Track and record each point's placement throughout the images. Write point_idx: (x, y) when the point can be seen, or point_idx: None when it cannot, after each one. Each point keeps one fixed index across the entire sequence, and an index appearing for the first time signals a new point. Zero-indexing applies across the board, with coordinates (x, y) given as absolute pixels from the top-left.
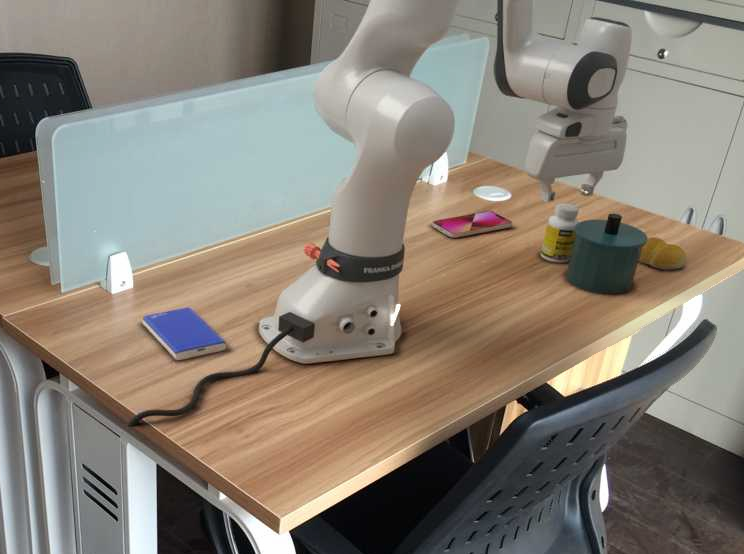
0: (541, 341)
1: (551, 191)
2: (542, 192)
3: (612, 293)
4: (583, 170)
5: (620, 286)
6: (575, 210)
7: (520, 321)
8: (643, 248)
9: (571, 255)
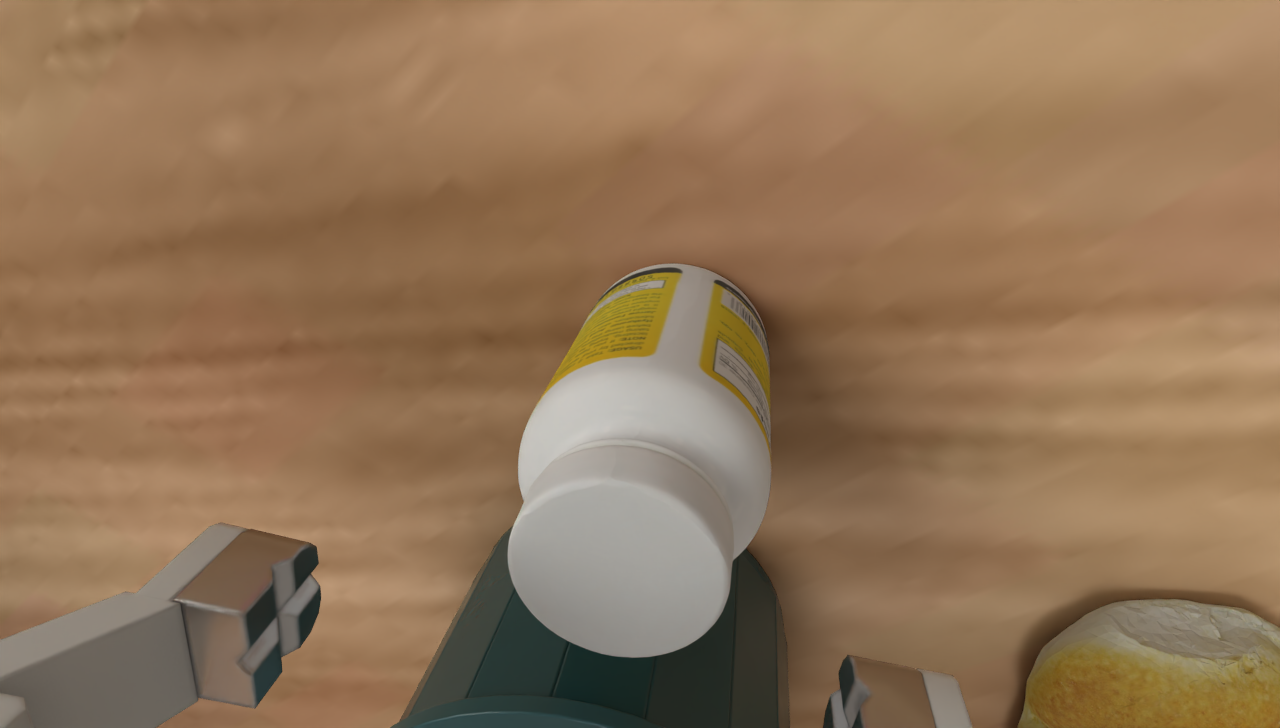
0: None
1: (166, 711)
2: (159, 579)
3: None
4: None
5: None
6: (617, 649)
7: (61, 612)
8: (1076, 714)
9: (467, 609)
